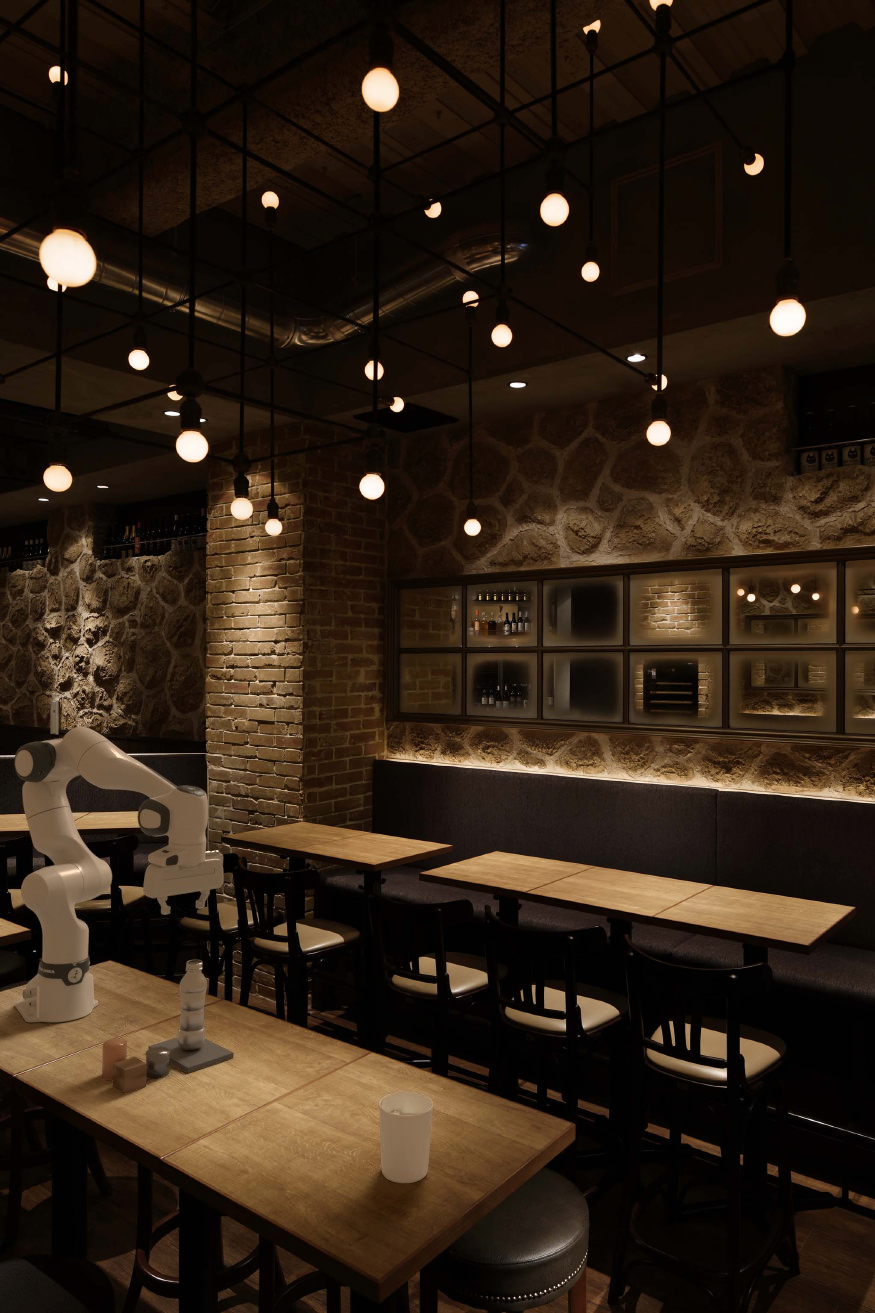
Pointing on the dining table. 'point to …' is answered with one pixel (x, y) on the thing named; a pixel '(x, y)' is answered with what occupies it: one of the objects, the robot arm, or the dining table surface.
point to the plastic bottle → (192, 1007)
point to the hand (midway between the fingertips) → (183, 911)
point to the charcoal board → (195, 1055)
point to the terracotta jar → (112, 1056)
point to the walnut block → (129, 1075)
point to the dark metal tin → (157, 1062)
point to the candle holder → (405, 1135)
